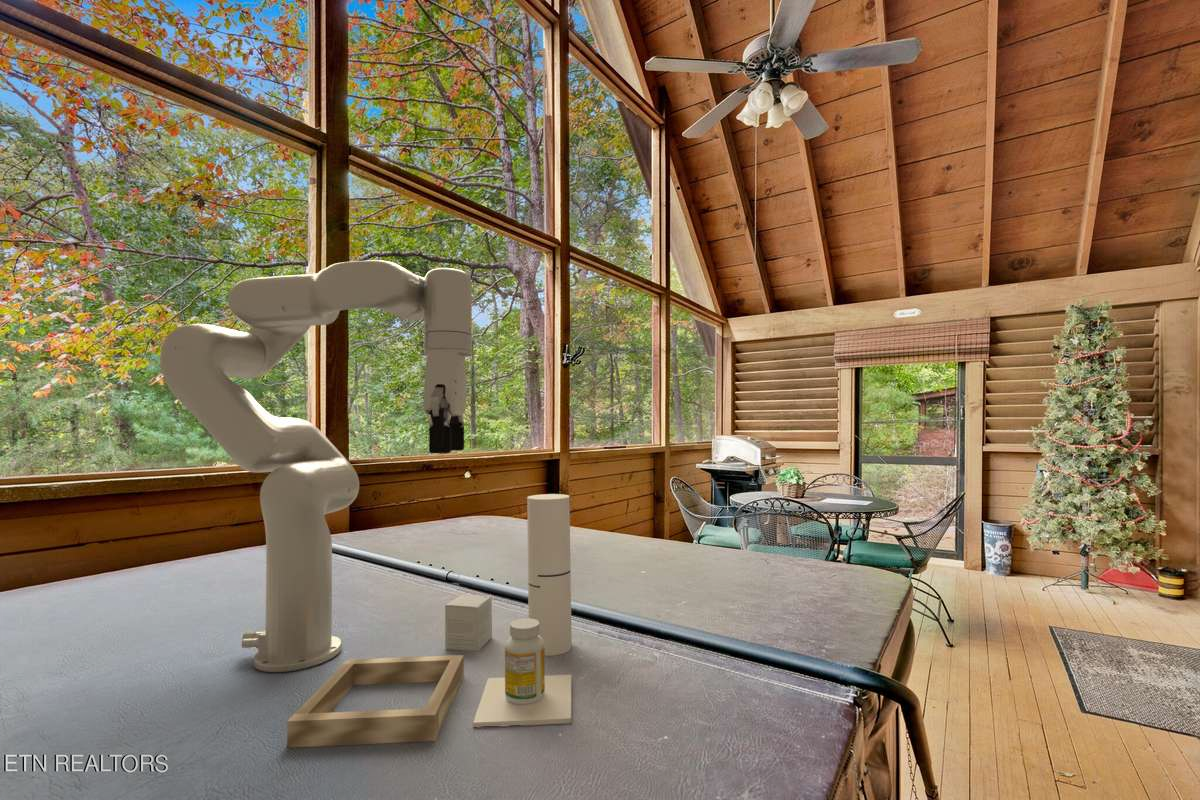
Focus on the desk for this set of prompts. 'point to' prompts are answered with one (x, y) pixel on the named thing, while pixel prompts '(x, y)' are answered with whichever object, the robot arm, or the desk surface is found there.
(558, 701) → the pad
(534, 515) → the cylindrical container
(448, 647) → the product box
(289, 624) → the robot arm
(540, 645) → the supplement bottle
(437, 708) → the wooden square frame
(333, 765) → the desk surface
